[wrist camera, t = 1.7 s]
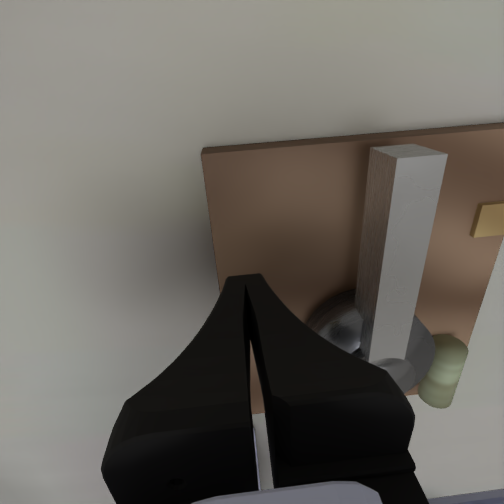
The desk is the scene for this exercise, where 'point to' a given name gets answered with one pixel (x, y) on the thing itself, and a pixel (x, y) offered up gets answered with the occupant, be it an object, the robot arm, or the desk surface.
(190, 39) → the desk surface
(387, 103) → the desk surface
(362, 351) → the grey lever handle
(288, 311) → the robot arm
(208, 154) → the base
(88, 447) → the desk surface
